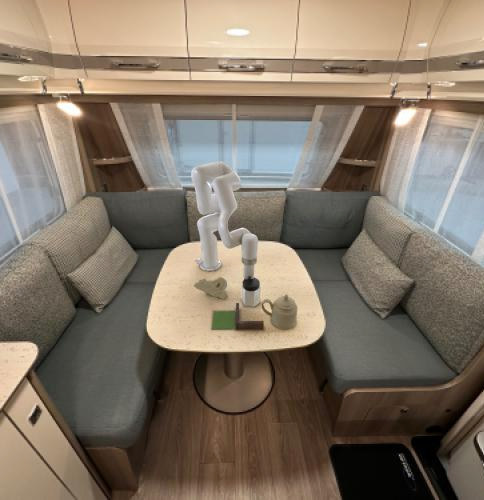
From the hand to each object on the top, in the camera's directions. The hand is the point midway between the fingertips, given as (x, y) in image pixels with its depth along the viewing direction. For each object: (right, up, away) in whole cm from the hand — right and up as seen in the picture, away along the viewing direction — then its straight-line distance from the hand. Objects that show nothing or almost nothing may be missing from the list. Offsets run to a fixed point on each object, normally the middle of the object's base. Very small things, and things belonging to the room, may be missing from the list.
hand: (248, 288), depth 137 cm
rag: (-12, -12, -16) cm, 23 cm away
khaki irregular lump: (-19, -4, -1) cm, 19 cm away
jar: (+1, -6, -5) cm, 8 cm away
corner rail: (0, -12, -16) cm, 20 cm away
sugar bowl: (+13, -12, -17) cm, 25 cm away
